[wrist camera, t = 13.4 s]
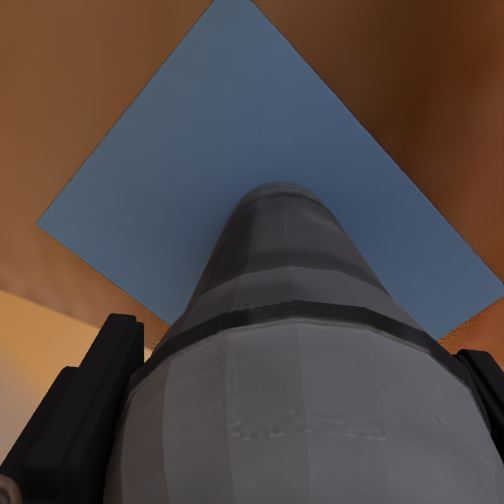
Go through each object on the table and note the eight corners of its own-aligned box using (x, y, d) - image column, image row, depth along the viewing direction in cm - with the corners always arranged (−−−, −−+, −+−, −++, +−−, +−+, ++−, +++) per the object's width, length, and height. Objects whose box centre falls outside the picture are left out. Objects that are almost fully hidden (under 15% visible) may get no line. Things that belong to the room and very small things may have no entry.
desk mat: (504, 286, 20) (510, 292, 20) (305, 423, 24) (306, 429, 24) (231, -20, 15) (231, -23, 15) (39, 220, 19) (34, 224, 19)
